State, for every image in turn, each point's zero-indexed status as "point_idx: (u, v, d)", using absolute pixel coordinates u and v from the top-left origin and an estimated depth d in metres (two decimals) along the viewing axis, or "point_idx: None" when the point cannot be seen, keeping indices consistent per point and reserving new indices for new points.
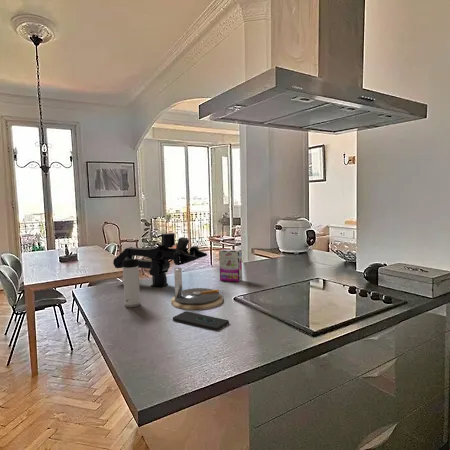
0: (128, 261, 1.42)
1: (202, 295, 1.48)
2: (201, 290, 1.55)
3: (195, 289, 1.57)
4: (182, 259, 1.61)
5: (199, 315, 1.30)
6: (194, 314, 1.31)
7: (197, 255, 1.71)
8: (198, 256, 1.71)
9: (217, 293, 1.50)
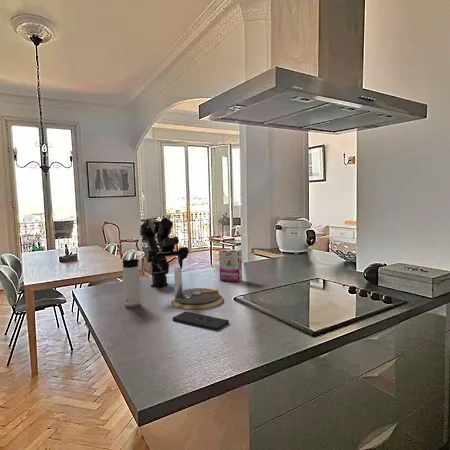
0: (128, 261, 1.42)
1: (202, 295, 1.48)
2: (201, 290, 1.55)
3: (195, 289, 1.57)
4: (154, 260, 1.56)
5: (199, 315, 1.30)
6: (194, 314, 1.31)
7: (179, 259, 1.61)
8: (179, 261, 1.61)
9: (217, 293, 1.50)
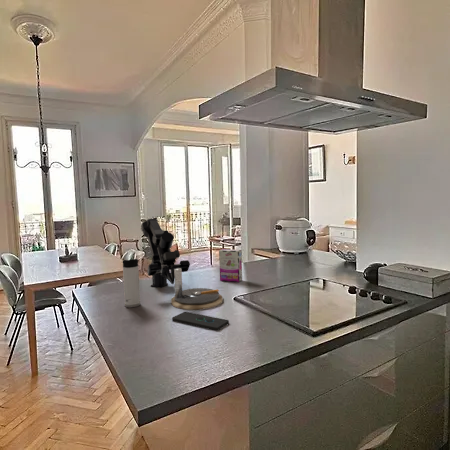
0: (128, 261, 1.42)
1: (202, 295, 1.48)
2: (201, 290, 1.55)
3: (195, 289, 1.57)
4: (163, 272, 1.57)
5: (199, 315, 1.30)
6: (193, 314, 1.31)
7: (171, 274, 1.57)
8: (171, 275, 1.57)
9: (217, 293, 1.50)
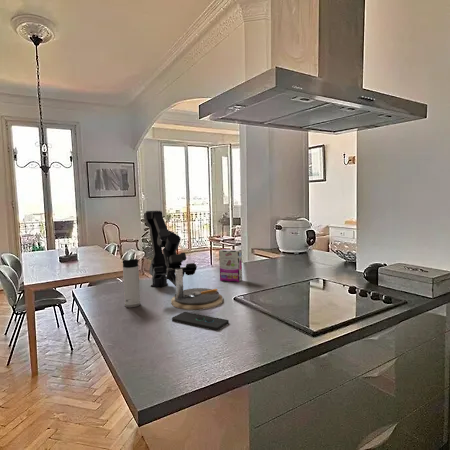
0: (128, 261, 1.42)
1: (203, 295, 1.48)
2: (199, 290, 1.56)
3: (193, 289, 1.57)
4: (168, 276, 1.50)
5: (198, 315, 1.30)
6: (193, 314, 1.31)
7: None
8: None
9: (217, 292, 1.51)
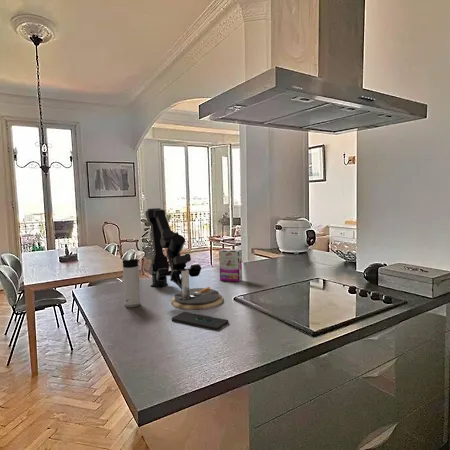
0: (128, 261, 1.42)
1: (204, 294, 1.50)
2: (193, 290, 1.55)
3: None
4: (173, 278, 1.47)
5: (198, 315, 1.29)
6: (193, 314, 1.31)
7: None
8: None
9: (213, 290, 1.55)
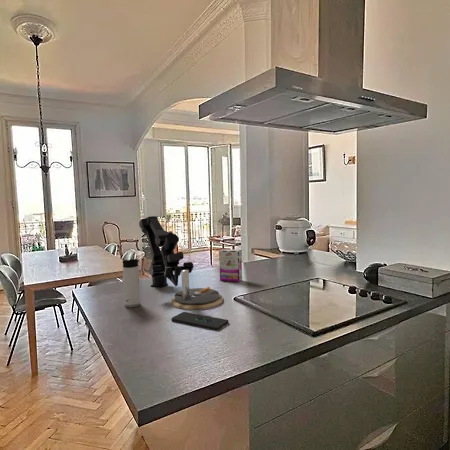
0: (128, 261, 1.42)
1: (204, 294, 1.50)
2: (193, 290, 1.55)
3: None
4: (167, 274, 1.56)
5: (198, 315, 1.29)
6: (193, 314, 1.31)
7: (174, 276, 1.57)
8: None
9: (213, 290, 1.55)
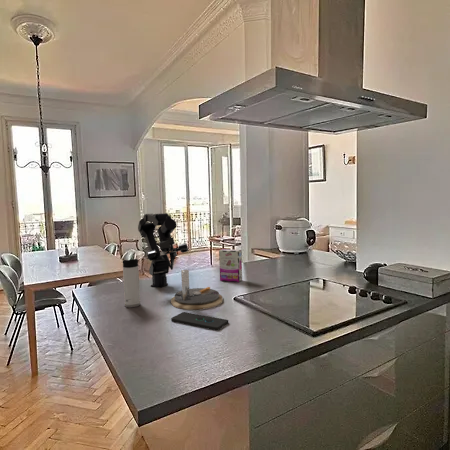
0: (128, 261, 1.42)
1: (204, 294, 1.50)
2: (193, 290, 1.55)
3: None
4: (163, 258, 1.63)
5: (198, 315, 1.29)
6: (192, 314, 1.30)
7: None
8: None
9: (213, 290, 1.55)
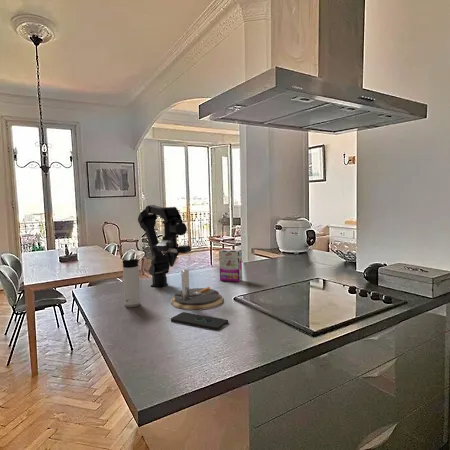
0: (128, 261, 1.42)
1: (204, 294, 1.50)
2: (193, 290, 1.55)
3: None
4: None
5: (197, 315, 1.29)
6: (192, 314, 1.30)
7: None
8: None
9: (213, 290, 1.55)
